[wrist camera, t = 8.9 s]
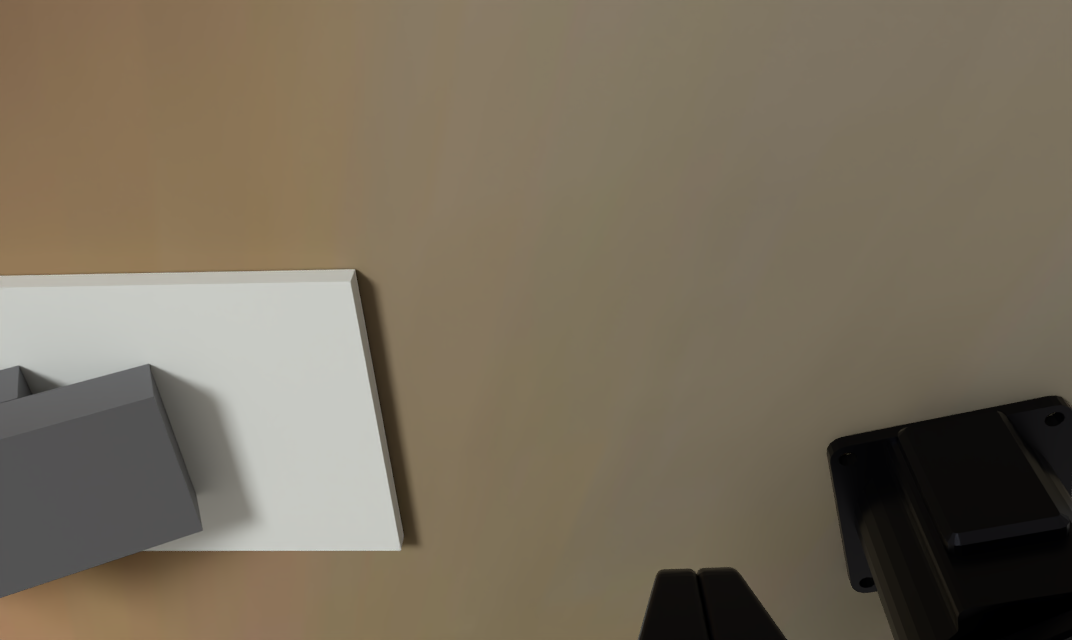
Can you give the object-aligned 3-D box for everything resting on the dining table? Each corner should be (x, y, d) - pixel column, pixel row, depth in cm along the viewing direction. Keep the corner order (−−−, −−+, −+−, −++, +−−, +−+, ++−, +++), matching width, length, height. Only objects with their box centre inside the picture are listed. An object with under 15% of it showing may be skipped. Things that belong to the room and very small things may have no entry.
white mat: (354, 269, 23) (350, 281, 22) (403, 536, 28) (401, 550, 28) (-376, 282, 24) (-396, 294, 23) (-190, 537, 29) (-203, 551, 29)
